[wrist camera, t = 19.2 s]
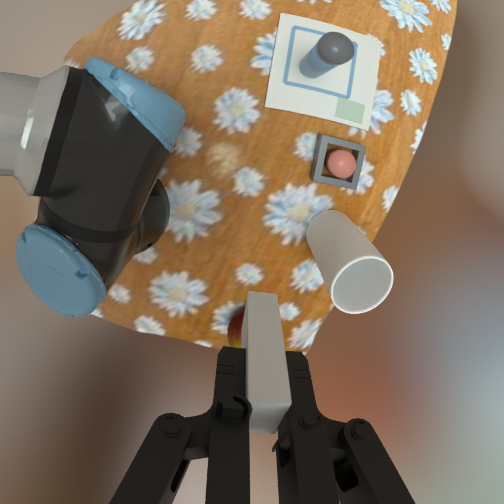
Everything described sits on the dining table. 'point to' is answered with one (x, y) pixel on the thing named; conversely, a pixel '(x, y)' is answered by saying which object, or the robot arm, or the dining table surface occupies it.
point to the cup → (348, 263)
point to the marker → (327, 54)
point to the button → (340, 163)
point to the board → (327, 85)
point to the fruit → (235, 330)
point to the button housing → (320, 156)
